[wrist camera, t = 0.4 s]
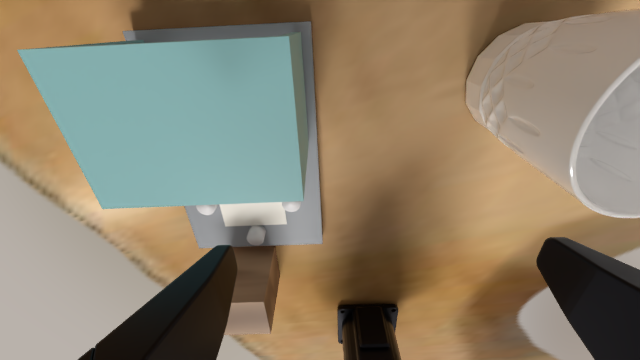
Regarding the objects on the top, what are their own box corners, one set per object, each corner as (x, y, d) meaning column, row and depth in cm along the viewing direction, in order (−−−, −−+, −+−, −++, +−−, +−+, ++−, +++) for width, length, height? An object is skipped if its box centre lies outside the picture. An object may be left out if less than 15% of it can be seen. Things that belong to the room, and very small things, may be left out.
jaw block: (279, 275, 28) (270, 333, 22) (240, 276, 28) (222, 334, 22) (275, 245, 26) (263, 301, 20) (232, 247, 26) (210, 303, 20)
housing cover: (308, 144, 19) (303, 201, 13) (172, 149, 20) (102, 208, 13) (300, 31, 16) (288, 36, 10) (134, 40, 16) (17, 50, 10)
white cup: (431, 107, 19) (524, 175, 10) (516, -16, 16) (760, -68, 7) (514, 152, 21) (654, 242, 12) (607, 49, 17) (896, 74, 9)
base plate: (322, 236, 25) (322, 251, 23) (203, 240, 25) (194, 256, 23) (311, 21, 17) (310, 21, 15) (132, 30, 17) (111, 31, 15)
